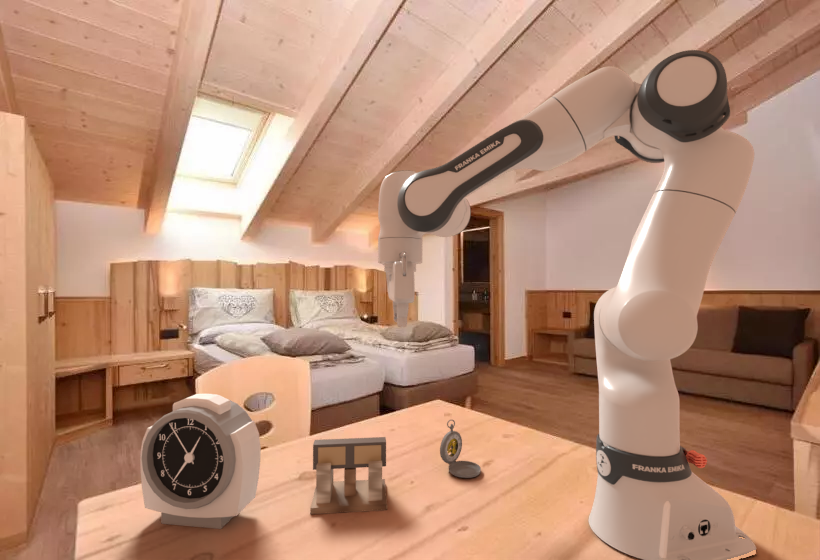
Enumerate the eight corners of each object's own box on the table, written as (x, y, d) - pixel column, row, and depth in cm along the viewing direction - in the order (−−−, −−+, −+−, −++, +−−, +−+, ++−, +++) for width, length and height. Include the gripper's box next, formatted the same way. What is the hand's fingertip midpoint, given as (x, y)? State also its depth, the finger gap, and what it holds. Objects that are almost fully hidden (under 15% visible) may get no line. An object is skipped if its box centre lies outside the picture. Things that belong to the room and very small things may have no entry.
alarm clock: (132, 527, 64) (134, 400, 65) (171, 499, 73) (172, 387, 73) (237, 537, 62) (238, 405, 62) (264, 506, 70) (265, 391, 70)
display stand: (384, 484, 78) (384, 445, 78) (387, 509, 69) (387, 466, 69) (317, 487, 77) (317, 448, 77) (310, 514, 68) (310, 469, 68)
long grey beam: (385, 460, 75) (385, 437, 75) (386, 466, 73) (386, 442, 73) (314, 463, 74) (314, 439, 74) (312, 470, 71) (313, 445, 71)
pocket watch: (480, 481, 79) (480, 430, 80) (438, 477, 81) (438, 427, 81) (481, 463, 87) (481, 417, 88) (443, 460, 89) (443, 415, 89)
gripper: (423, 250, 70) (422, 329, 69) (410, 258, 90) (410, 319, 90) (386, 249, 69) (386, 330, 69) (382, 258, 89) (382, 320, 89)
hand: (400, 324), depth 79 cm, fingers open, 8 cm apart
